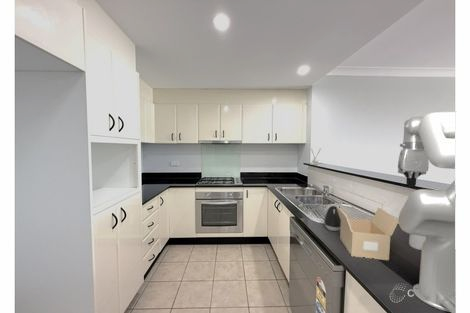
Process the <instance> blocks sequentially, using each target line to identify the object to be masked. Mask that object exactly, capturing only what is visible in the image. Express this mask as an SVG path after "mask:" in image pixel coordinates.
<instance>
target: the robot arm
mask: <svg viewBox="0 0 470 313" xmlns="http://www.w3.org/2000/svg"><path fill="white" fill-rule="evenodd" d="M455 112H456V111H437V112H436V111H433V112H429V113H427V114H425V115H423V116H414V117H413V116H412V117H411V118H409V119H407V120H405V121H404V123H403V124H404V126H403V142H402V143H400V144H399V147H400V148H402V149H401V150H400V153H399V155H398V162H397V169H398V170H397V173H398V174H402V175H403V176H404V177H405V178H406V182H405V183H406V187H409V188H416V185H417V179H418V178H419V177H421V176H422V175H426V174H427V172H428V171H429V168H430V166H429V165H430V164H432V165H433V166H434V167H435V168H439V169H447V170H448V169H453V170H456V169H455ZM429 163H430V164H429ZM398 220H399V222H398V225H399V228H400V229H401V230H402V231H403V232H404V233H406V234H409V235H410V234H412V235H418V236H426V237H428V238H427V239H426V240H425V242H424V243H423V245H422V250H421V251H420V252H421V255H420V266H419V281H418V283H417V284H414V285H413V287H412V289H413V290H412V291H413V294H414V295H415V296H416V297H417V298H418V299H419V300H421V301H422V302H424V303H425V304H427V305H429V306H431V307H434V308H435V309H438V310H440V311H445V312H448V313H455V180H453V181H452V183H450V185H449V187H448V188H446V189H425V188H422V189H421V188H420V189H416V190H414V191H412V192H410V194H409V196H408V197H407V199H406V201H405V202H404V205H403V206H402V208H401V209H400V212H399V214H398Z"/></svg>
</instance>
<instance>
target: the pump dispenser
mask: <svg viewBox="0 0 470 313" xmlns="http://www.w3.org/2000/svg"><path fill="white" fill-rule="evenodd" d="M338 207H339V208H340V209H341V206H338ZM323 223H324V226H325V228H326V229H327V230H328V231H330V232H339V231H340V226H341V219H340V217H339V214H338V211H337V208H336V205H331V206H330V207H329V208H328V209H327V211H326V213H325V217H324V222H323Z"/></svg>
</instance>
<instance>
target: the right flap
mask: <svg viewBox="0 0 470 313" xmlns="http://www.w3.org/2000/svg"><path fill="white" fill-rule="evenodd" d="M371 221H373V222H374V223H375V224H377V225H378V226H379V227H380V228H381V229H383V230H384V231H385V232H386V233H387V234H389V235H390V237H391V236H393V235H394V232H395V230H396V228H397V227H398V225H399V218H396V217H394V216H393V215H391V214H390V213H388V212H386V211H385V210H383V209H382V208H380V207H377V209H376V212H375V213H374V216H373V217H372V220H371Z"/></svg>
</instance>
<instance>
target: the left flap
mask: <svg viewBox="0 0 470 313" xmlns="http://www.w3.org/2000/svg"><path fill="white" fill-rule="evenodd" d="M335 206H336V208H337V211H338V214H339V217H340V219H341V220H342V221H343V223H344V224H345V225H346V226H347V227H348V229H349V230H350V231H351V232H353V231H352V229H351V226H350V223H349V220H348V219H349V217H348V215H347V214H346V213H345V212H344V210H342V209H341V207H340V206H338V205H337V204H335ZM339 207H340V208H339Z"/></svg>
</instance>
